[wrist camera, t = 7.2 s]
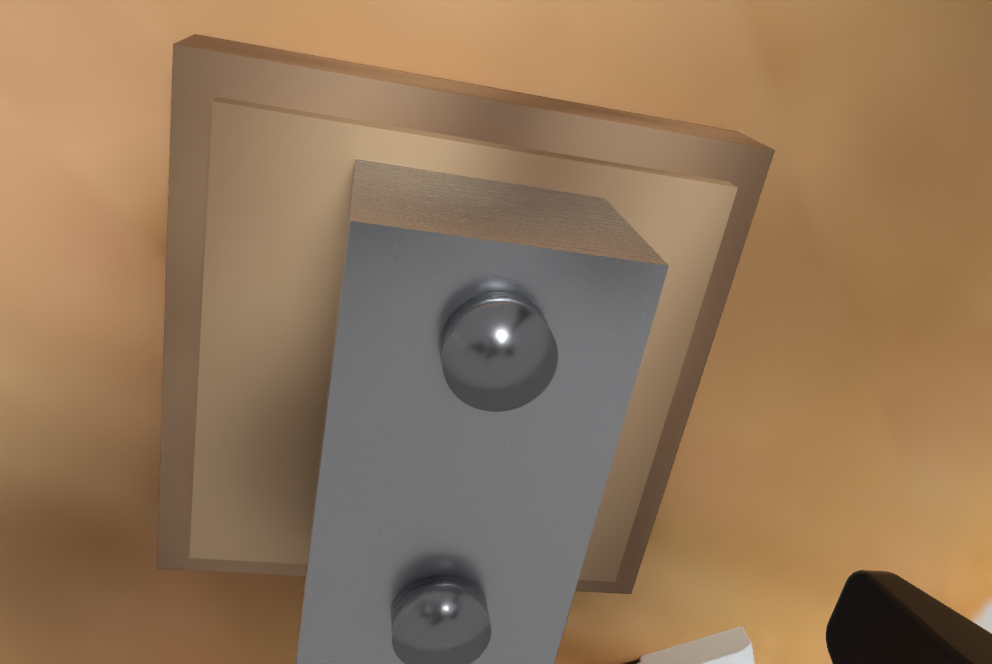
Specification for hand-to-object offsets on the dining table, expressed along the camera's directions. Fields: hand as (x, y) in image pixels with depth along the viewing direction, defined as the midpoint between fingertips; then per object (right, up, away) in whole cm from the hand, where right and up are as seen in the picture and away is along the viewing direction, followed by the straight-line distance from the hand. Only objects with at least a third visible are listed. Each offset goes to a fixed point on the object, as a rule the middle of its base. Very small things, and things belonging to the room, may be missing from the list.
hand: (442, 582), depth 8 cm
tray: (-1, +2, +12) cm, 12 cm away
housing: (-1, +1, +10) cm, 10 cm away
